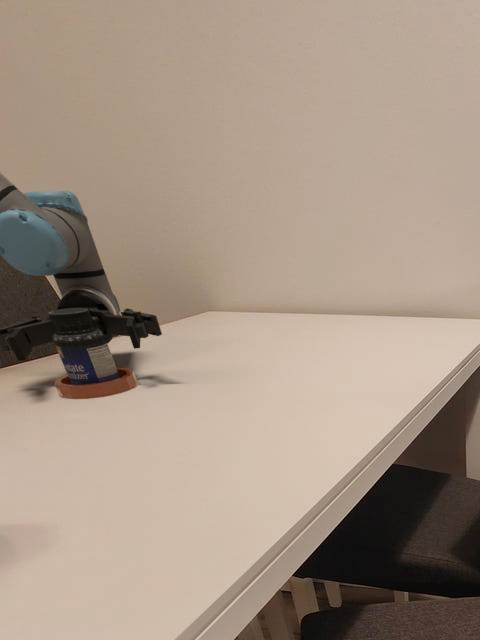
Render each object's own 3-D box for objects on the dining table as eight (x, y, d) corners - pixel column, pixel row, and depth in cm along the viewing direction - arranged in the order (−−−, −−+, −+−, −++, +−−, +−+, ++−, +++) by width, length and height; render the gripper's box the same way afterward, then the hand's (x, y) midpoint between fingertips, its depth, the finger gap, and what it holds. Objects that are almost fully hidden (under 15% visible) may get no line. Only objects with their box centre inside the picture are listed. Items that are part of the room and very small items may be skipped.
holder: (51, 414, 80) (39, 387, 78) (89, 393, 88) (79, 368, 86) (122, 412, 80) (111, 385, 78) (154, 391, 88) (145, 366, 85)
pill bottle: (69, 402, 82) (29, 313, 75) (105, 390, 87) (71, 305, 80) (101, 406, 80) (63, 315, 73) (136, 394, 85) (104, 307, 78)
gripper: (181, 334, 98) (187, 362, 83) (8, 352, 90) (-20, 386, 75) (165, 282, 93) (168, 301, 78) (-19, 296, 86) (-55, 320, 70)
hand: (76, 343), depth 76 cm, fingers open, 13 cm apart
